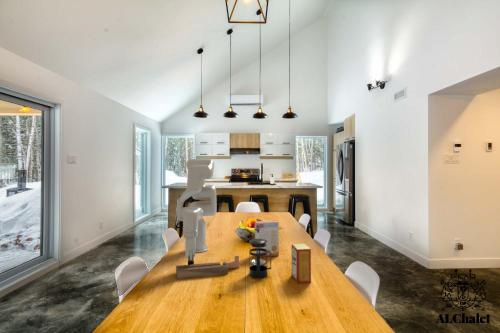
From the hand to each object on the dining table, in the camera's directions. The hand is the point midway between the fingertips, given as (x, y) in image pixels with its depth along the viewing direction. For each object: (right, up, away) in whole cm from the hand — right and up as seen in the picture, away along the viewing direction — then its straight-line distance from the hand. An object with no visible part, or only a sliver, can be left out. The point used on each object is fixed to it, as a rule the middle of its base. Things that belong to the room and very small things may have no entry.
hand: (190, 268), depth 136 cm
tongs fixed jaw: (+7, -1, -5) cm, 9 cm away
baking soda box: (+56, -1, -10) cm, 56 cm away
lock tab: (+21, -1, +4) cm, 22 cm away
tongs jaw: (+5, -1, -3) cm, 5 cm away
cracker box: (+41, -2, +24) cm, 48 cm away
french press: (+36, -1, -5) cm, 36 cm away
